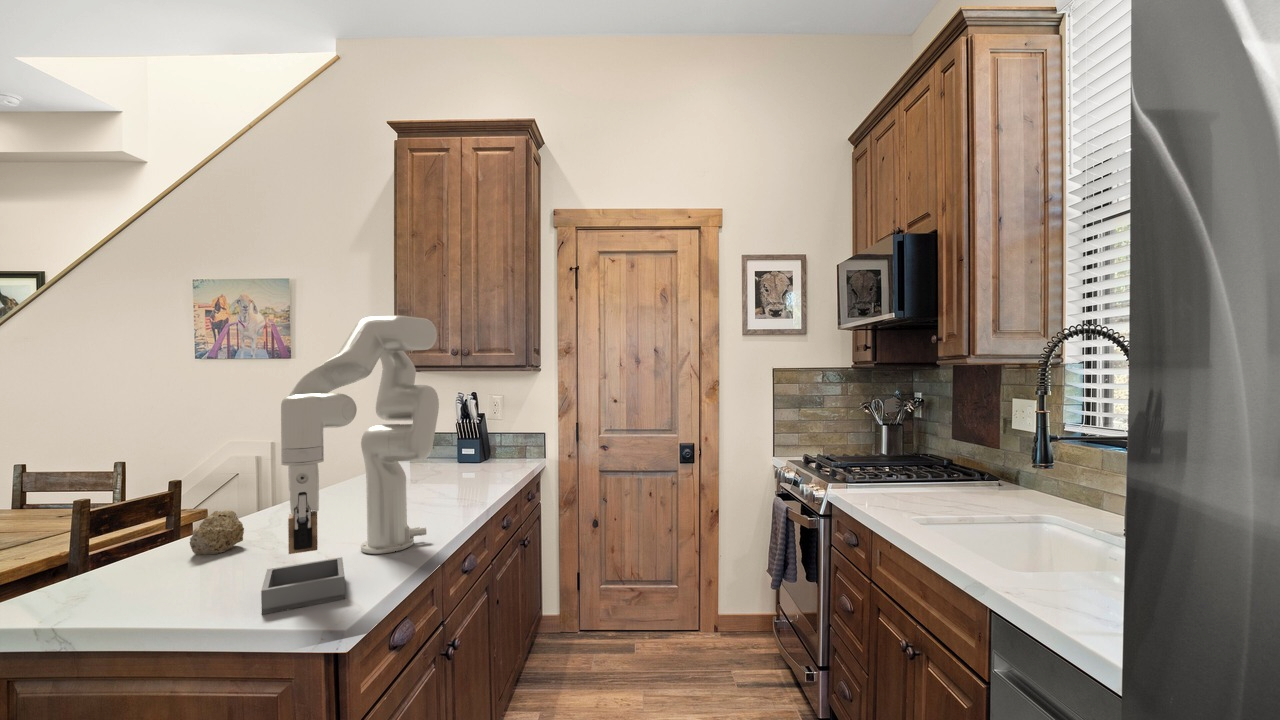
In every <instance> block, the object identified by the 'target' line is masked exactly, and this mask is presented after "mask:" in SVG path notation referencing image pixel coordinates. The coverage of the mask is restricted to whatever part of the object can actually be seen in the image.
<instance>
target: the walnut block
mask: <svg viewBox="0 0 1280 720" xmlns="http://www.w3.org/2000/svg"><path fill="white" fill-rule="evenodd" d="M306 517H308V516H306ZM298 518H299V517H298ZM287 520H288V522H287V525H288V527H287V529H288V531H287V532H288V555H292V554H301V553H307V552H313V551H318V545H319V544H318V543H319V542H318V512H316V513H315V511H312V510H311V527H312V547H311V548H307V549H300V550H294V529H295V515H293V514H291V513H289V514H288V519H287Z"/></svg>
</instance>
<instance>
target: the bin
mask: <svg viewBox="0 0 1280 720" xmlns="http://www.w3.org/2000/svg"><path fill="white" fill-rule="evenodd" d="M343 561H344V560H343V557H341V556H340V557H335V558H328V559H321V560H317V561H310V562H309V561H308V562H304V563H303V562H302V563H296V564H292V565H291V564H290V565H286V566H285V565H284V566H279V567H273V568H266V571H265V572H266V573H265V576H264V579H263V582H262V587H261V591H260V592H261V593H260V594H261V595H260V596H261V597H260V598H261V600H260V601H261V615H262V616H263V615H268V614H267V613H269V614H274V613H278V611H279V612H283V611H282V610H284V611H288V610H287V609H290V610H295V609H300V608H305V607H309V606H310V605H311V606H316V605H321V604H325V603H326V604H327V603H330V602H337V601H341V600H345V599H346V582H345V581H346V577H345V568H344V562H343ZM304 606H305V607H304ZM294 608H295V609H294Z"/></svg>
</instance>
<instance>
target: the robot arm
mask: <svg viewBox="0 0 1280 720" xmlns="http://www.w3.org/2000/svg"><path fill="white" fill-rule="evenodd" d="M437 338H438V334H437V328H436V326H435V325H434V323H433V322H432V321H431V320H430V319H428V318H425V317H415V316H407V315H376V316H374V315H373V316H367V317H364V318H362V319H360V320H358V322H357V323H356V324H355V326H354V327H353V329H352V331H351V332H350V333H349V335H348V337H347V338H346V340H345V341H344V343H343V345H341V348H340V350H339V351H338V352H337V354H336V355H335V356H333V357H331V358H330V359H328V360H326V361H324V362H323V363H321V364H320V365H318V366H316V367H315V368H313V369H312V370H310V371H309V372H307V373H306V374H305V375H303V377H301V378H300V379H299V380H298V381H297V383H296V384H295V386H294V387H293V389H292V390H291V392H290V394H289V395H288V396H287V397H285V398H283V399H282V401H281V404H280V405H281V406H280V437H281V438H280V440H281V441H280V443H281V444H280V445H281V446H280V447H281V448H280V450H281V451H280V452H281V453H280V458H281V459H280V460H281V462H280V463H281V464H280V465H281V466H286V467H288V468H287V469H288V497H289V508H290V514H293V515H295V529H294V550H300V549H307V548H311V547H312V527H311V511H315V513H316V512H317V513H318V512H319V509H320V473H319V472H320V471H319V463H324V458H325V457H324V456H325V455H324V429H335V428H336V429H337V428H342V427H346V426H349V424H351V423H352V422H353V420H354V419H355V418H356V416H357V408H358V407H357V404H356V401H354V399H353V398H352V397H350V396H349V395H348V394H345V393H339V392H338V393H336V392H334V393H332V392H333V391H335V390H336V389H339V388H342V387H345V386H349V385H350V384H354V383H356V382H358V381H361V380H363V379H366V378H367V377H369V376H370V375H371V374H372V372H373V370H374V368H375V367H376V366H377V365H376V364H377V363H378V361H379V360H380V362H381V365H382V371H381V372H382V373H381V378H380V382H379V386H378V392H377V396H376V402H375V414H376V415H377V417H378V418H379V419H381V420H384V421H388V422H389V421H391V422H395V421H397V422H400V421H401V422H402V421H403V422H407V421H408V422H410V421H411V422H412V423H409V424H408V423H405V424H404V423H402V424H400V423H391V424H389V423H388V424H387V423H386V424H385V423H383V424H377V425H373V426H370V427H368V428H367V429H366V430H365V431H364V432H363V434H362V436H361V441H360V445H361V446H360V447H361V452H362V453H361V454H362V457H363V461H364V467H365V481H366V482H365V485H366V489H365V490H366V491H365V492H366V528H367V529H366V533H367V536H366V537H367V541H364V542H363V543H362V544H361V545H360V551H361V552H362V553H364V554H369V555H370V554H372V555H379V554H380V555H381V554H389V553H395V551H396V552H399V551H402V550H405V549H408V548H410V547H412V546H413V545H414V544H415V543H414V542H415V541H414V539H415V538H414V537H417V536H418V537H419V536H420V537H421V536H426V535H427V527H420V526H417V527H414V528H413V527H410V526H409V524H408V515H407V514H408V509H407V506H408V503H407V497H408V496H407V475H406V472H405V470H404V468H403V467H402V465H401V464H400V463H399V462H421V461H424V460H426V459H427V458H428V457H429V456H430V455H431V453H432V450H433V447H434V446H433V445H434V441H435V433H436V429H437V422H438V416H439V408H440V401H439V400H440V399H439V395H438V393H437V390H436V389H435V388H434V387H433V386H431V385H428V384H415V382H416V381H415V380H416V375H417V369H416V366H415V364H414V362H413V361H412V360H411V358H410V357H409V356H408V355H407V353H406V352H407V351H425V350H426V351H427V350H429V349H432V347H434V345H435V344H436V341H437ZM405 351H406V352H405ZM306 516H308V517H306ZM298 517H299V518H298Z"/></svg>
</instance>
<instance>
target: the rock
mask: <svg viewBox="0 0 1280 720" xmlns="http://www.w3.org/2000/svg"><path fill="white" fill-rule="evenodd" d="M244 533H245V528H244V525H243V522H242V521H241V520H240V519H239V518H238V515H237V514H236V512H235V511H234V510H222V511H221V510H219V511H218V510H214V511H213V512H212V513H211V514H210V515H208V516H207V517H205V518H204V519H203V520H202V522H201V523H200V524H199V526H198V527H196V528H195V529H193V531H192V535H191V537H190V538H189V547H190V549H191V551H192V552H193V554H195V555H197V556H198V555H199V556H200V555H201V556H202V555H204V554H205V555H210V554H211V555H217V554H220V553H227V551H229V550H231V548H232V547H234V546H235V545H236V544H238V543H241V542H243V541H244Z"/></svg>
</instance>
